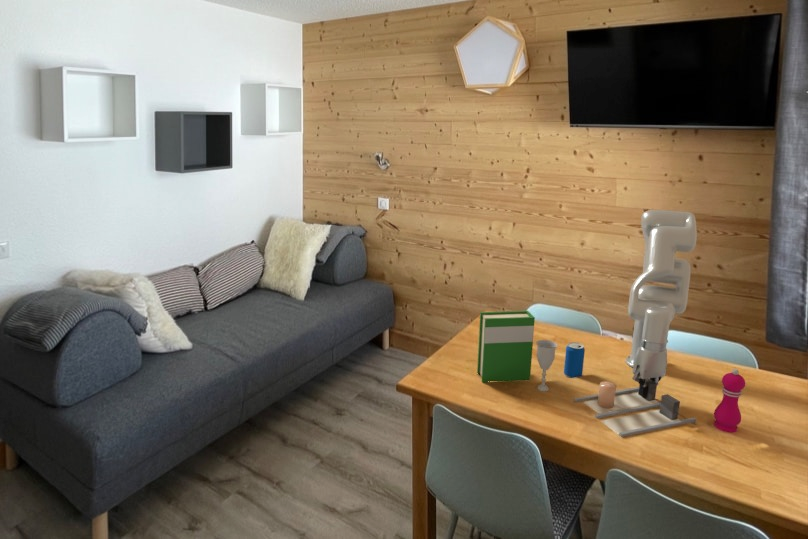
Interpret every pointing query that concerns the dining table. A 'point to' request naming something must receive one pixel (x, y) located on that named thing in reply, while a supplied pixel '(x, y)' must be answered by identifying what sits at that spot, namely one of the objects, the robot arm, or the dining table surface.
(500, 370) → the hardback book
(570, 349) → the beverage can
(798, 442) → the dining table surface
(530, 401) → the dining table surface
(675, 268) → the robot arm
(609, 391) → the light brown rounded piece
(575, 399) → the track board
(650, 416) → the strip
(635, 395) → the strip
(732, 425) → the pepper mill
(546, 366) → the chalice
